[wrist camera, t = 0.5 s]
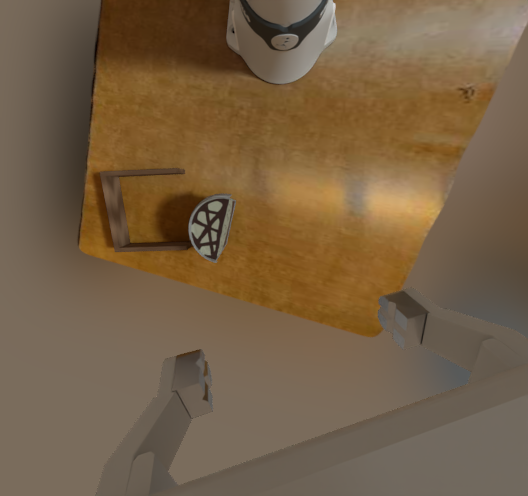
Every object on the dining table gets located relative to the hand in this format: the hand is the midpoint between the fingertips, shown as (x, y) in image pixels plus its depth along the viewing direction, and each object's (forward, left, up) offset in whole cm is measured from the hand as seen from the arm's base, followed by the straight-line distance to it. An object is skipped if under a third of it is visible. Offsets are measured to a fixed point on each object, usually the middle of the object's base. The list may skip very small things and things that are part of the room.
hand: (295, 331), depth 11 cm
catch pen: (-2, -25, -41) cm, 48 cm away
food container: (0, -12, -41) cm, 43 cm away
